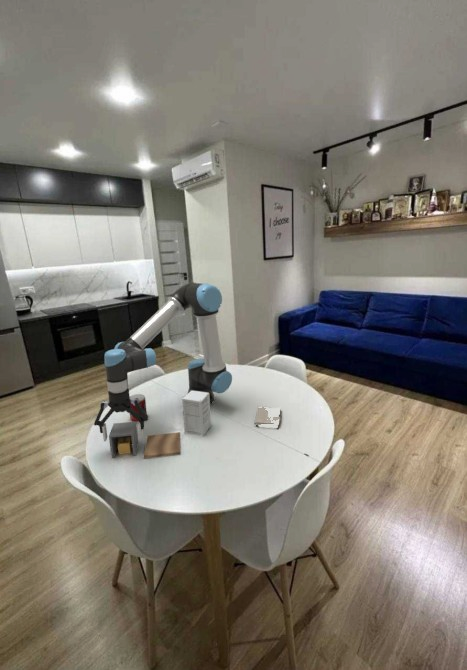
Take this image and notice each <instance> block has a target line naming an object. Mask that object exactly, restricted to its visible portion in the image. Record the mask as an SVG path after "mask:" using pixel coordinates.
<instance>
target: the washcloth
mask: <svg viewBox="0 0 467 670" xmlns="http://www.w3.org/2000/svg"><path fill="white" fill-rule="evenodd" d="M264 407H265V406H262V408H258V407H257V410H258V411H256V416H255V419H254V425H255V424H257V425H261V424H274V423H271V420H270V418H271V417H270V418H269V417H268V411H267V410H265V409H266V408H264ZM267 419H268V420H267ZM278 419H279V417H273V420H275V421H276V420H278ZM273 420H272V421H273Z"/></svg>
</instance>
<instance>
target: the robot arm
mask: <svg viewBox="0 0 467 670" xmlns="http://www.w3.org/2000/svg"><path fill="white" fill-rule="evenodd" d="M222 303H223V296H222V293H221V291H220V289H219V288H218V287H217V286H215V285H213V284H209V283H197V282H188V283H185V284H183V285H181V286H180V287H179V288H177V289H176V290H175V291H174V292H173V293H172V294H171V295H170V296H169V297H167V301H166V302H165V303H164V304H163V305H162V306H161V307H160V308H159V309H158V310H157V311H156V312H155V313H154V314H153V315H152V316H150V318H149V319H147V320H146V322H144V323H143V325H142V326H141V327H139V328H138V329H137V330H136V331H135V332H134V333H132V335H131V336H130V337H129V338H127V339H126V340H125V341H121V342H117V344H116V345H115V346H114V348H113V349H110V350H109V349H108V350H107V351H105V352H104V367H105V376H106V385H107V391H108V392H107V394H108V401H105V400H102V401H101V403H100V406H99V407H100V409H99V411H98V414H97V415H96V418H95V420H94V422H93V426H96V427H97V426H98V427H99V432H100V434H102V437H103V442H107V440H108V431H107V423H106V422H107V420H108V419H109V418H110V416H112V414H113V413H125V412H127V414H129V415H130V414H131V415H132V416H133V417H134V418H136V419H137V420H138V421H139V422H137V428H138V439H142V437H143V430H144V429H145V422H147V421H148V420H149V415H148V414H146V412H145V411H144V409H143V408H142V406H141V405H140V404H139V400H138V398H136V399H135V400H130V396H131V395H130V388H129V378H128V377H129V376H128V373H131V372H135V371H141V370H143V369H149V368H151V367H153V366H155V365H156V363H157V355H156V352H155V350H154V349H152V348H151V347H150V348H149V347H148V348H145V347H146V346H147V345H149V344H150V343H151V342H152V341H153V340H154V338H156V336H157V335H159V334H160V333H161V332H162V331H163V329H165V328H166V326H168V325H169V324H170V323H171V322H172V321H173V320H174V319H175V318H176V317H177V316H178V315H179V314H180V313H184V312H185V311H186V310H188V309H189V308H191V309H192V313H193V316H194V317H195V318H197V324H198V328H199V336H200V342H201V343H200V344H201V348H202V354H203V357H202V358H196V359H193V360H190V361H189V362H188V364H187V372H188V375H187V376H188V391H187V394H188V393H189V392H190V391H191V390H192V391H200V392H207V393H209V396H210V405H212V404H213V403H214V402H215V394H214V393H216V394H224V393H225V392H226V391H228V389H229V388H230V386H231V385H232V382H233V375H232V373H231V372H230V371H227V365H226V362H224V361H223V356H222V349H221V343H220V335H219V329H218V328H219V327H218V322H217V321H218V320H217V315H218V314H219V309H220V308H221V305H222ZM187 394H186V395H187ZM213 401H214V402H213ZM212 402H213V403H212ZM131 403H132V404H133V405H135V407H136V409H137V410H138V412H139V413H140V414H141V415H140V414H139V413H137V412H136V411H135V410H134V409H133V408H132V407H131V406H130V404H131ZM107 407H109V408H110V409H109V411H107V413H106V414H105V415H104V417H103V418H102V419H101V417H102V415H103V412H104V411H105V408H107Z"/></svg>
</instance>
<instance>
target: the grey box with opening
mask: <svg viewBox="0 0 467 670" xmlns="http://www.w3.org/2000/svg"><path fill="white" fill-rule="evenodd" d="M125 437H131V440H132V456H134V457H135V456H137V451H138V448H139V447H138V446H139V432H138V422H136V421H135V422H134V421H125V422H116V423H113V425H112V426H111V429H110V432H109V434H108V440H109V447H110V448H109V449H110V454H111V459H114V458H115V456H116V453H117V450H118V442H119V439H120V438H125Z"/></svg>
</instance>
